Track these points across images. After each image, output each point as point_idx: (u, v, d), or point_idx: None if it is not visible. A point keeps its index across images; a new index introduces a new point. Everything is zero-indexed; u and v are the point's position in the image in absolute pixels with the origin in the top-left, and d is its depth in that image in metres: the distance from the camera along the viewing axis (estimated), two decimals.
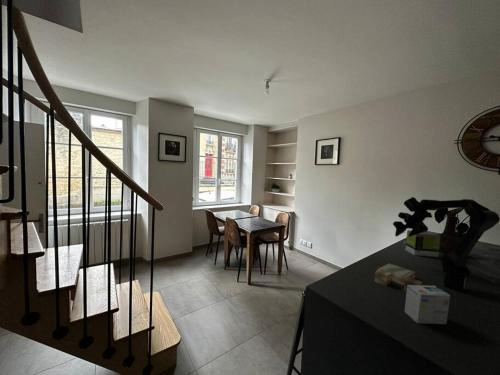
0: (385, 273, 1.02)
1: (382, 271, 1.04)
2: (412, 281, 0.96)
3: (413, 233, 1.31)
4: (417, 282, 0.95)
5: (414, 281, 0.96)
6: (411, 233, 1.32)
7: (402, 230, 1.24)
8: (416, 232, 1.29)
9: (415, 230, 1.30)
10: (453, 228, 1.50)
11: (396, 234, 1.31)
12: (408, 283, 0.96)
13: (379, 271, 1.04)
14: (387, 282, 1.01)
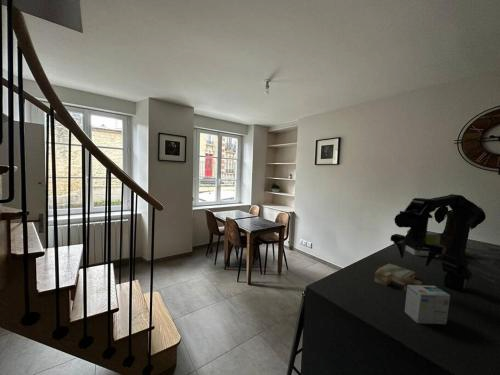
0: (385, 273, 1.02)
1: (382, 271, 1.04)
2: (412, 281, 0.96)
3: (403, 250, 1.01)
4: (417, 282, 0.95)
5: (414, 281, 0.96)
6: (403, 253, 1.00)
7: None
8: (404, 246, 1.01)
9: (403, 246, 1.00)
10: (453, 228, 1.50)
11: (429, 263, 0.92)
12: (408, 283, 0.96)
13: (379, 271, 1.04)
14: (387, 282, 1.01)
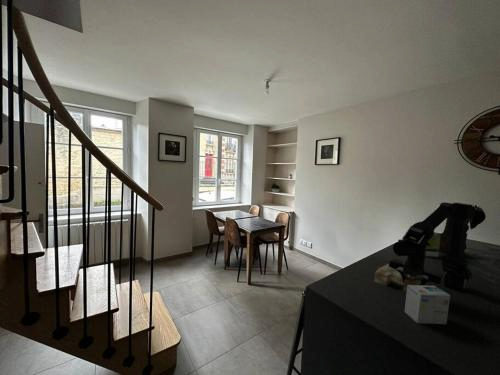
0: (385, 273, 1.02)
1: (382, 271, 1.04)
2: (412, 281, 0.96)
3: None
4: (417, 282, 0.95)
5: (414, 281, 0.96)
6: None
7: None
8: (407, 274, 1.00)
9: (406, 274, 0.99)
10: None
11: None
12: (408, 283, 0.96)
13: (379, 271, 1.04)
14: (387, 282, 1.01)
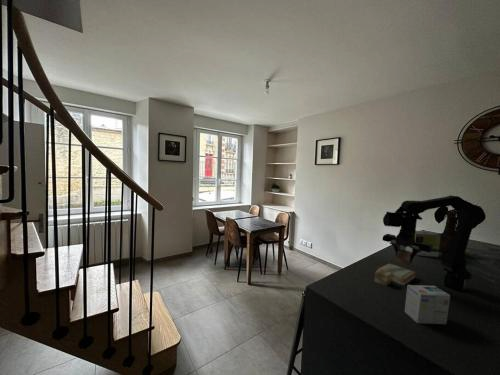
0: (385, 273, 1.02)
1: (382, 271, 1.04)
2: (404, 252, 1.03)
3: None
4: (409, 253, 1.03)
5: (406, 252, 1.04)
6: None
7: None
8: (399, 246, 1.07)
9: (398, 246, 1.07)
10: (453, 228, 1.50)
11: None
12: (400, 254, 1.03)
13: (379, 271, 1.04)
14: (387, 282, 1.01)
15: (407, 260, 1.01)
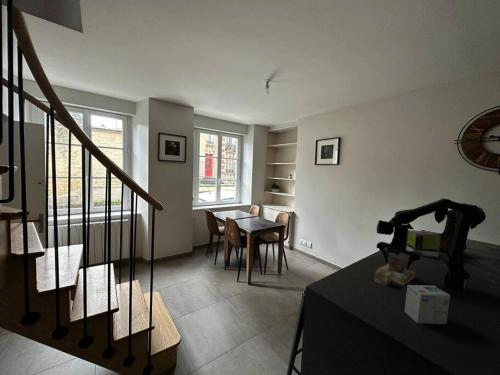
0: (385, 273, 1.02)
1: (382, 271, 1.04)
2: (396, 260, 1.10)
3: (388, 256, 1.14)
4: (400, 261, 1.09)
5: (398, 260, 1.10)
6: (387, 258, 1.14)
7: None
8: (388, 252, 1.15)
9: (387, 252, 1.14)
10: (453, 228, 1.50)
11: (409, 267, 1.06)
12: (393, 262, 1.10)
13: (379, 271, 1.04)
14: (387, 282, 1.01)
15: (399, 268, 1.07)
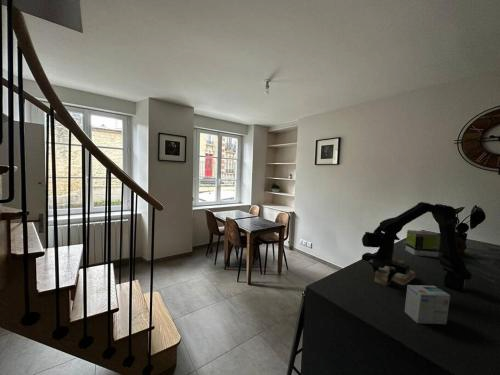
0: (385, 273, 1.02)
1: (382, 271, 1.04)
2: (396, 260, 1.10)
3: None
4: (400, 261, 1.09)
5: (398, 260, 1.10)
6: None
7: None
8: None
9: (377, 266, 1.06)
10: (453, 228, 1.50)
11: (390, 279, 1.01)
12: (393, 262, 1.10)
13: (379, 271, 1.04)
14: (387, 282, 1.01)
15: None
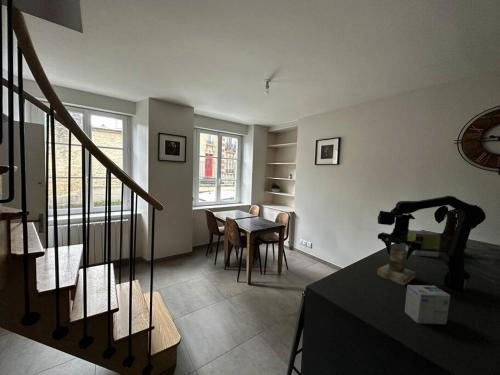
0: (400, 251, 1.09)
1: (397, 250, 1.11)
2: None
3: (390, 247, 1.14)
4: None
5: None
6: (389, 249, 1.13)
7: None
8: (390, 244, 1.14)
9: (389, 243, 1.13)
10: (453, 228, 1.50)
11: (409, 257, 1.06)
12: (393, 262, 1.10)
13: (394, 250, 1.10)
14: (402, 259, 1.07)
15: (399, 268, 1.07)
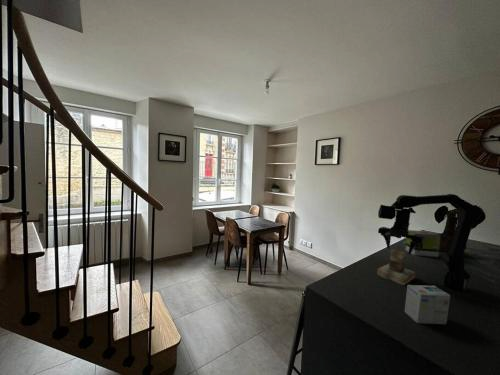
0: (400, 251, 1.09)
1: (397, 250, 1.11)
2: None
3: (389, 241, 1.14)
4: None
5: None
6: (389, 243, 1.13)
7: None
8: (390, 238, 1.14)
9: (389, 237, 1.14)
10: (453, 228, 1.50)
11: (411, 251, 1.06)
12: (393, 262, 1.10)
13: (394, 250, 1.10)
14: (402, 259, 1.07)
15: (399, 268, 1.07)
